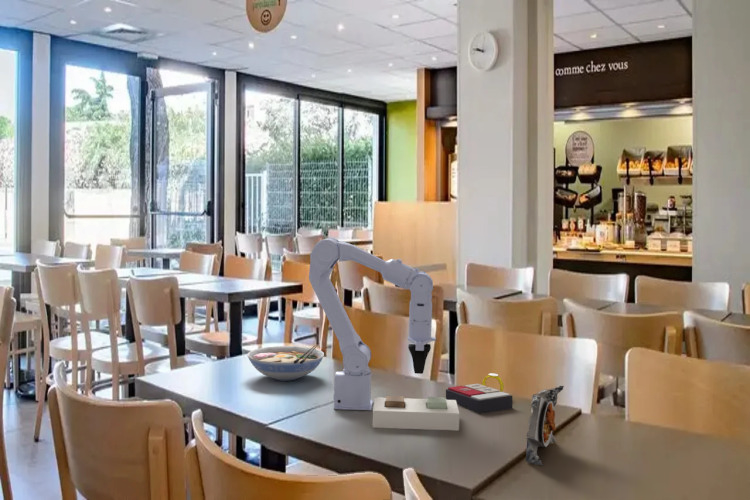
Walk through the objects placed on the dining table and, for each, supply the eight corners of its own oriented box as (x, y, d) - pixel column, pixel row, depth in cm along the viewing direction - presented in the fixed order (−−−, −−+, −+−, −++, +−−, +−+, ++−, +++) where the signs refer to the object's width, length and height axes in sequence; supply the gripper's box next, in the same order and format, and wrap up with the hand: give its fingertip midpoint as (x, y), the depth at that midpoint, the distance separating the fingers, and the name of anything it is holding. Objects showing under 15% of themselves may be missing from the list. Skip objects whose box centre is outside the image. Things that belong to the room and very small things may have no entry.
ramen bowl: (261, 366, 214) (261, 341, 213) (331, 370, 211) (332, 344, 210) (234, 386, 189) (234, 358, 189) (313, 391, 186) (314, 362, 186)
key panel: (372, 427, 156) (373, 410, 156) (374, 413, 167) (375, 397, 167) (459, 430, 155) (459, 413, 155) (455, 415, 166) (455, 400, 166)
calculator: (477, 382, 187) (513, 392, 174) (477, 397, 187) (513, 409, 174) (445, 386, 182) (479, 397, 168) (445, 402, 182) (479, 414, 169)
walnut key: (385, 415, 159) (385, 400, 159) (385, 409, 164) (386, 395, 164) (403, 416, 159) (404, 401, 159) (403, 410, 164) (404, 396, 163)
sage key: (427, 416, 159) (427, 402, 159) (426, 411, 163) (427, 397, 163) (446, 417, 159) (446, 402, 159) (445, 411, 163) (445, 397, 163)
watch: (503, 397, 185) (506, 376, 185) (499, 399, 183) (501, 378, 183) (484, 391, 189) (486, 371, 188) (479, 393, 187) (481, 372, 186)
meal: (546, 466, 135) (548, 402, 134) (525, 462, 137) (527, 399, 136) (561, 444, 148) (564, 385, 147) (542, 440, 150) (544, 382, 149)
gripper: (436, 325, 163) (435, 380, 164) (435, 316, 177) (433, 366, 178) (407, 324, 163) (406, 379, 164) (408, 315, 178) (407, 365, 178)
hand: (418, 373), depth 171 cm, fingers closed
